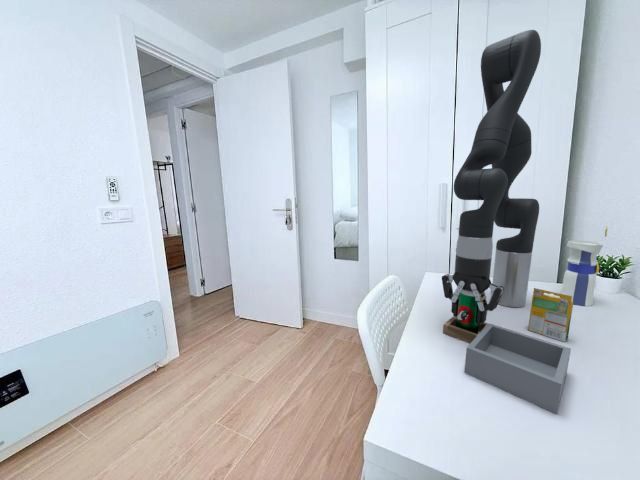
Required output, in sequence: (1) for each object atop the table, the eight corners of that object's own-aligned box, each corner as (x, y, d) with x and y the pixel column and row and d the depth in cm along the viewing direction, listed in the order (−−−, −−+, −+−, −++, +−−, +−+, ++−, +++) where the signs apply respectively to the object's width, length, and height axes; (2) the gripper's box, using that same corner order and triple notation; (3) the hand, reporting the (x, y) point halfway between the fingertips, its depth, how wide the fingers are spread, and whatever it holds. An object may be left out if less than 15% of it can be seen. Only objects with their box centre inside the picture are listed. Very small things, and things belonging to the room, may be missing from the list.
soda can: (480, 339, 64) (485, 293, 62) (458, 337, 66) (462, 291, 63) (474, 329, 69) (478, 286, 67) (453, 327, 70) (456, 284, 68)
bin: (486, 344, 62) (488, 323, 61) (566, 373, 52) (570, 348, 51) (464, 372, 53) (466, 347, 52) (556, 414, 43) (561, 384, 42)
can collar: (455, 322, 73) (456, 313, 73) (491, 333, 67) (492, 324, 67) (442, 333, 68) (443, 324, 67) (479, 347, 61) (480, 337, 61)
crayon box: (568, 338, 64) (575, 293, 62) (565, 342, 63) (572, 296, 61) (531, 326, 70) (536, 285, 68) (527, 330, 68) (533, 287, 66)
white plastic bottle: (589, 298, 87) (602, 223, 82) (598, 308, 80) (613, 226, 75) (556, 294, 91) (567, 222, 87) (561, 303, 84) (574, 225, 79)
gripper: (513, 256, 61) (505, 325, 64) (450, 247, 71) (446, 306, 75) (502, 262, 56) (494, 336, 59) (436, 251, 67) (432, 314, 70)
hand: (467, 318), depth 67 cm, fingers closed on soda can, 5 cm apart
